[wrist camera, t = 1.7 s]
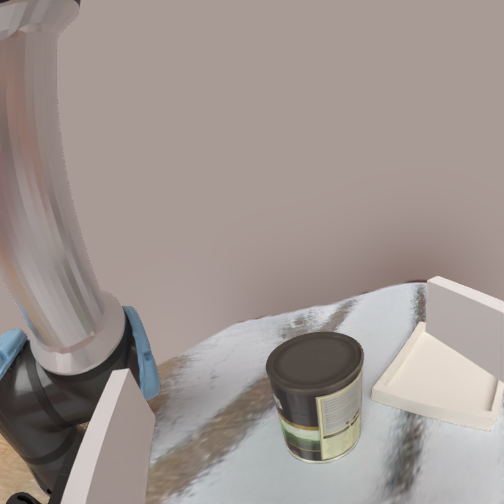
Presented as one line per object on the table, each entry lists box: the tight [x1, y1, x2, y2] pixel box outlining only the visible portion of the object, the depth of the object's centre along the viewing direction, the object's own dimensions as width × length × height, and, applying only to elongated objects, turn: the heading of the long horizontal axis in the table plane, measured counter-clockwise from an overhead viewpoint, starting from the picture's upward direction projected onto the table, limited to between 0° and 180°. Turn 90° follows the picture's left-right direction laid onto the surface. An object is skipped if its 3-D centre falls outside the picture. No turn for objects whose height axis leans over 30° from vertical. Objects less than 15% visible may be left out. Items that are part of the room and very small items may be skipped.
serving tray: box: [371, 322, 504, 431], centre depth 31 cm, size 20×20×2 cm
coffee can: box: [266, 332, 364, 464], centre depth 28 cm, size 10×10×14 cm
